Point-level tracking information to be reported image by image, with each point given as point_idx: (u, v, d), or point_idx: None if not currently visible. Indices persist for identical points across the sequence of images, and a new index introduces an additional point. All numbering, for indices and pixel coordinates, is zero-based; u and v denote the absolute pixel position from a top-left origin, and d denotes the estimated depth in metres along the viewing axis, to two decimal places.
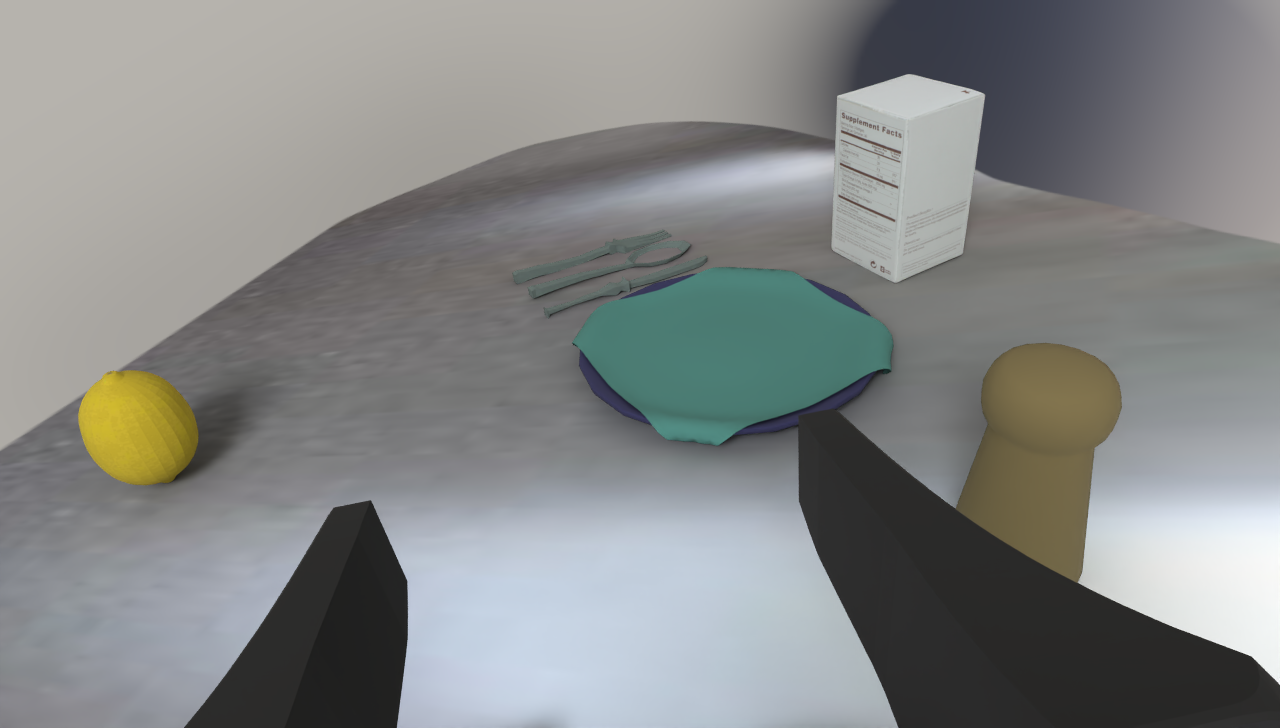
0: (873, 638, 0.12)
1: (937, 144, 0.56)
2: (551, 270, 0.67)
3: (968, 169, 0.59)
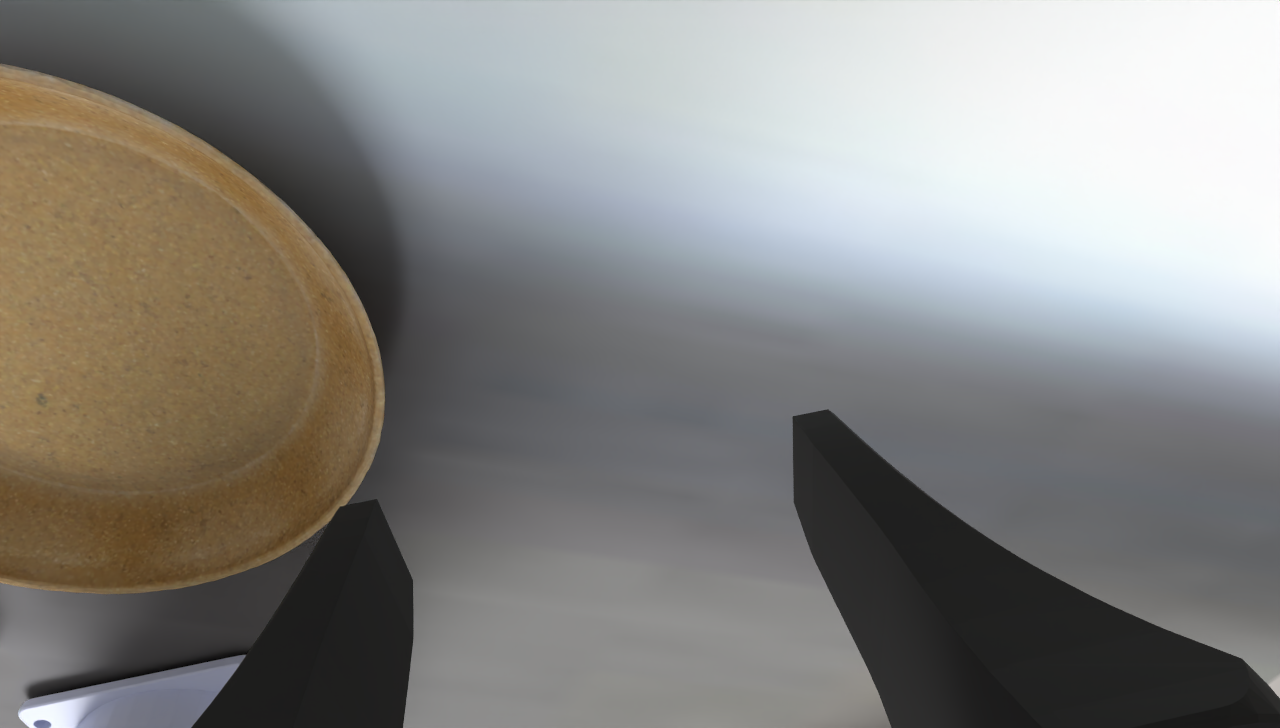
0: (867, 639, 0.12)
1: None
2: None
3: None
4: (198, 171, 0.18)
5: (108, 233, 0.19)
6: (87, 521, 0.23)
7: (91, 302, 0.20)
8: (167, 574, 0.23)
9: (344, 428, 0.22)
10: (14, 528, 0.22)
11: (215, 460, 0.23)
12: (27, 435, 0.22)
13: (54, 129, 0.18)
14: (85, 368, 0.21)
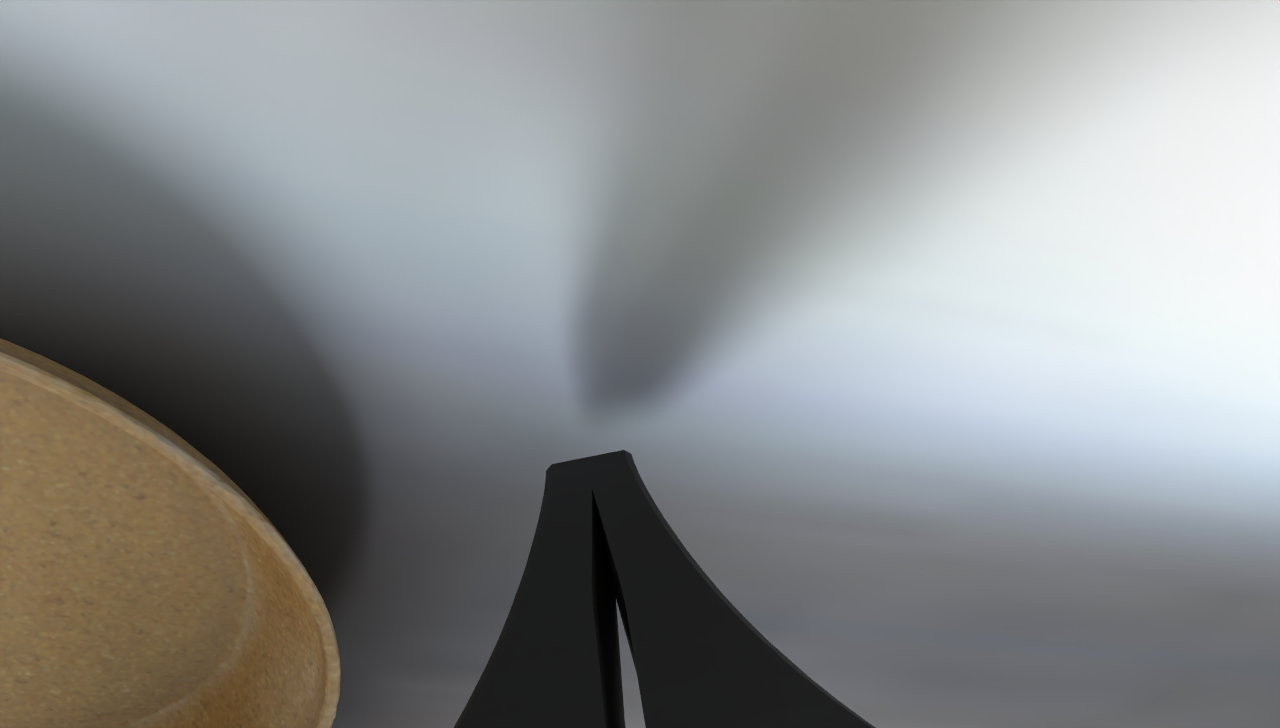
0: None
1: None
2: None
3: None
4: None
5: None
6: None
7: None
8: None
9: (288, 682, 0.16)
10: None
11: (116, 708, 0.17)
12: None
13: None
14: None
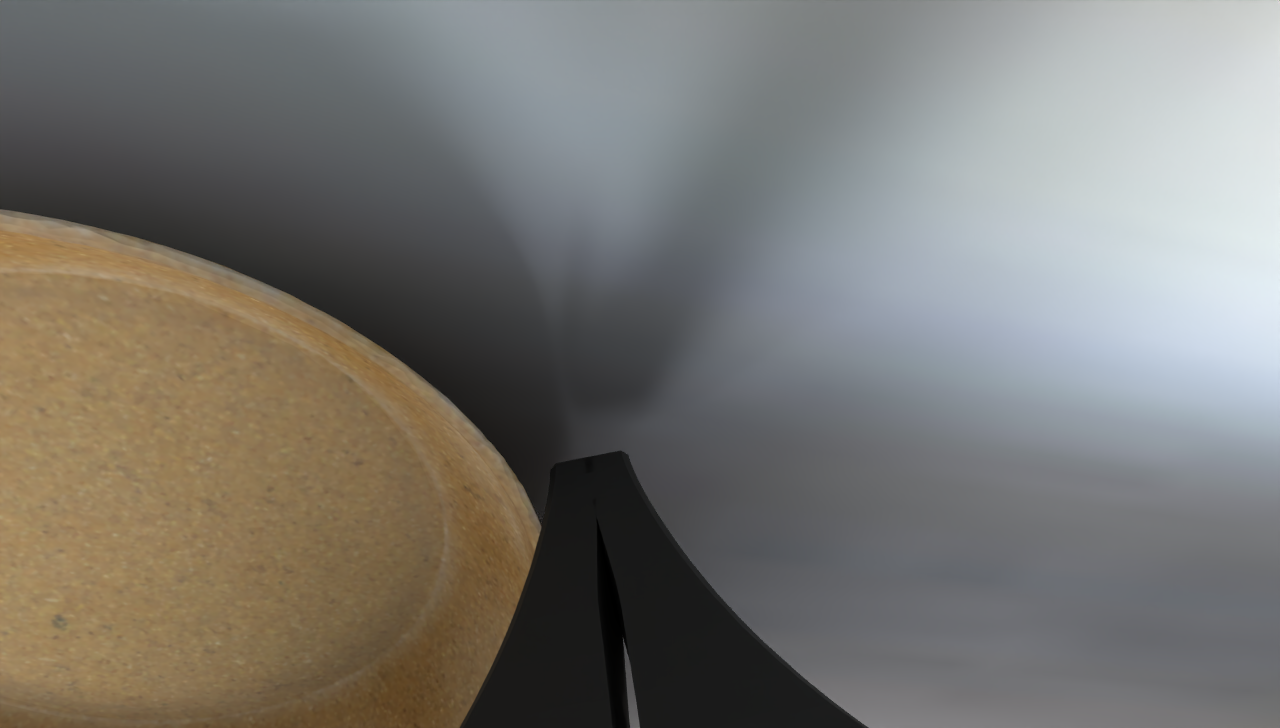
0: None
1: None
2: None
3: None
4: (300, 332, 0.12)
5: (160, 415, 0.13)
6: None
7: (132, 501, 0.14)
8: None
9: (480, 651, 0.16)
10: None
11: (295, 679, 0.17)
12: (39, 664, 0.16)
13: (83, 276, 0.11)
14: (121, 582, 0.15)
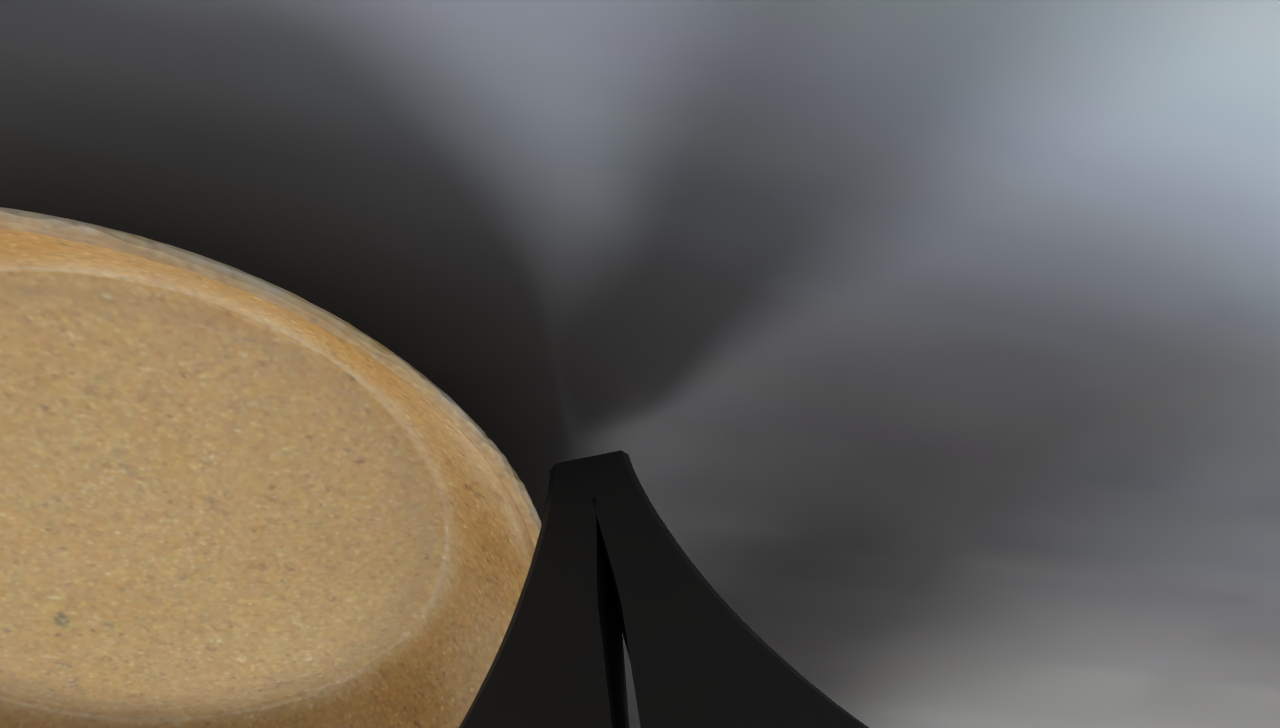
0: None
1: None
2: None
3: None
4: (302, 331, 0.12)
5: (162, 412, 0.13)
6: None
7: (134, 499, 0.14)
8: None
9: (481, 648, 0.16)
10: None
11: (295, 677, 0.17)
12: (41, 661, 0.16)
13: (87, 275, 0.11)
14: (123, 580, 0.15)
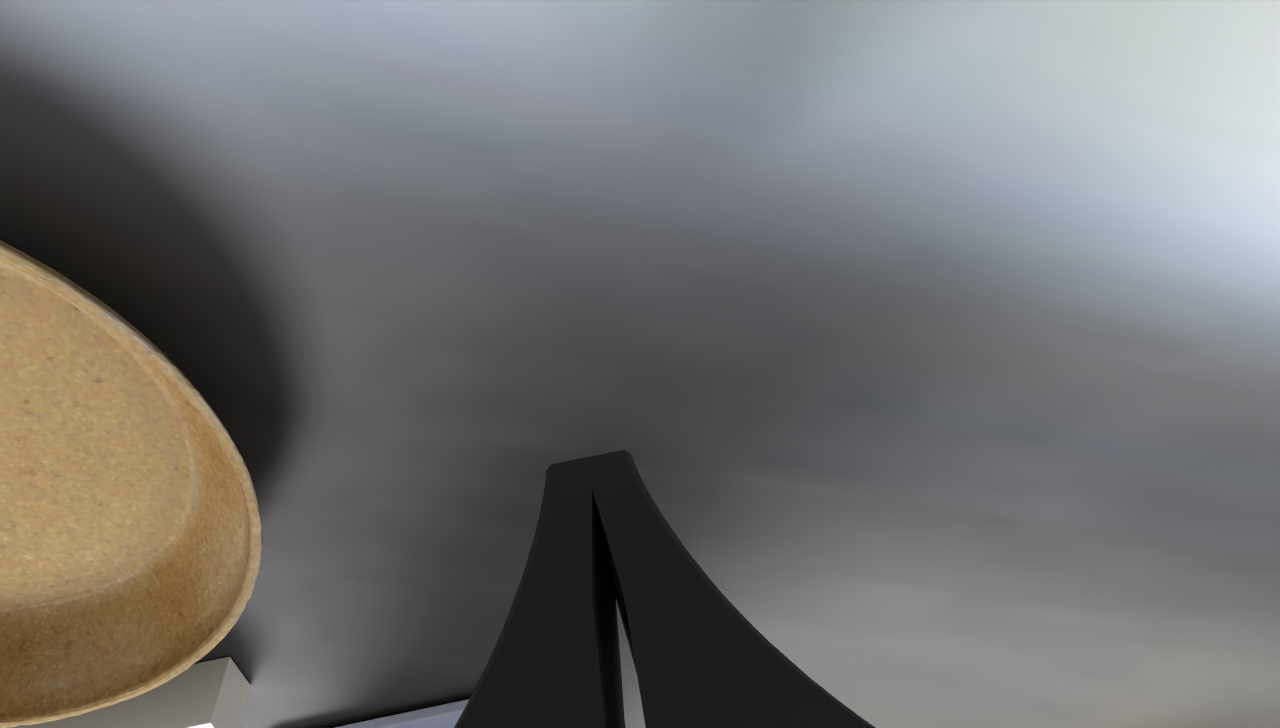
0: None
1: None
2: None
3: None
4: None
5: None
6: None
7: None
8: (23, 707, 0.20)
9: (224, 546, 0.19)
10: None
11: (81, 574, 0.20)
12: None
13: None
14: None
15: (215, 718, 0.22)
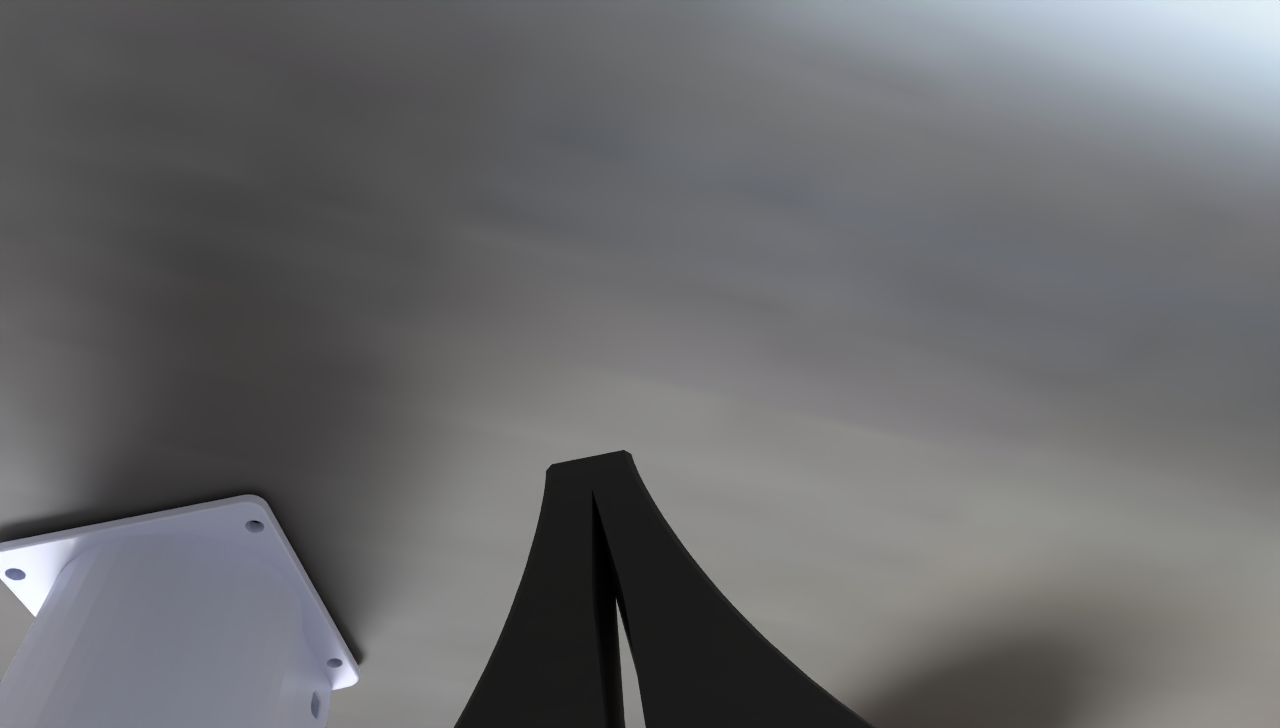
0: None
1: None
2: None
3: None
4: None
5: None
6: None
7: None
8: None
9: None
10: None
11: None
12: None
13: None
14: None
15: None
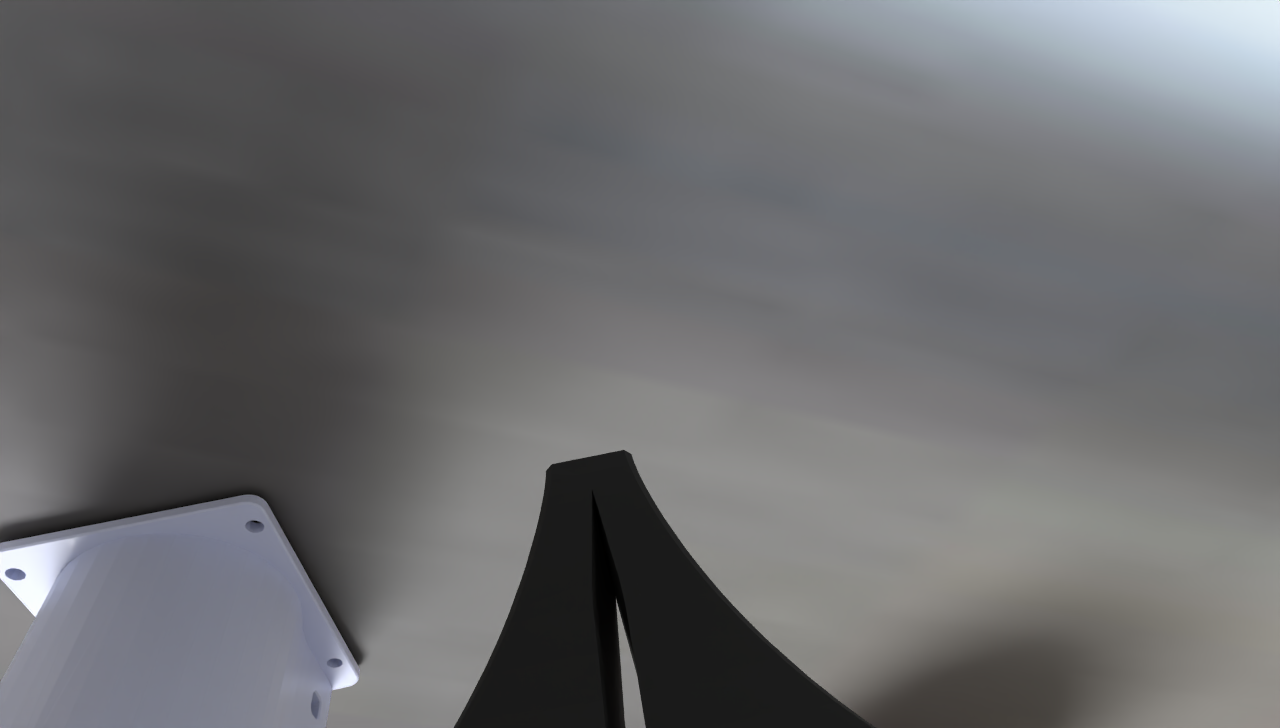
0: None
1: None
2: None
3: None
4: None
5: None
6: None
7: None
8: None
9: None
10: None
11: None
12: None
13: None
14: None
15: None
